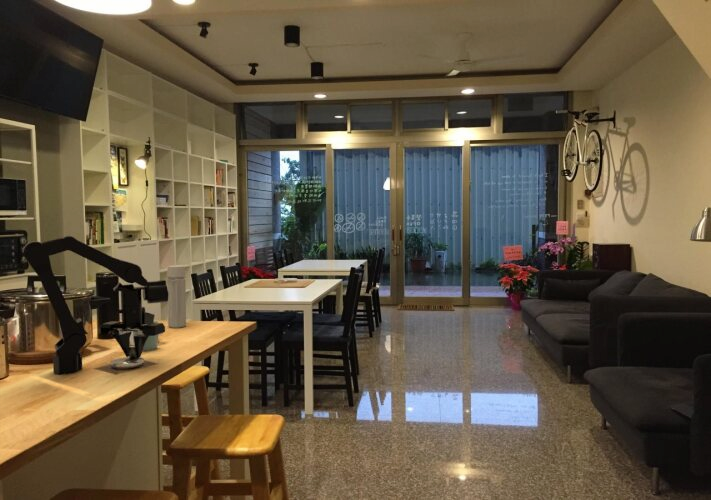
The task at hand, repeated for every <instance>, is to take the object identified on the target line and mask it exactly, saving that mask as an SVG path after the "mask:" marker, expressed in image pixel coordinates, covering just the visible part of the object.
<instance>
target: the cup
mask: <svg viewBox="0 0 711 500" xmlns="http://www.w3.org/2000/svg"><path fill="white" fill-rule="evenodd" d="M153 323H159V322H158V321H157V320H155V321H154V322H153ZM145 325H147V324H145ZM136 329H138V328H136ZM136 335H138V332H134V331H133V342H134V336H136ZM158 345H159V336H158V335H155V336H149V337H148V338H147V340H146V342H145V345H144V348H143V351H142V352H149V351H155V350H156V349H157V348H158ZM134 346H135V343H134Z"/></svg>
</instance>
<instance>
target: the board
mask: <svg viewBox="0 0 711 500" xmlns="http://www.w3.org/2000/svg"><path fill="white" fill-rule="evenodd" d="M156 365H159V363H158V362H152V361H149V360H145V359H144V364H143V365H141V366H139V367H134V368H127V369H117V368H112V367H111V364H106V365H103V366H98V367H94V368H93V370H97V371H101V372H105V373H109V374H111V375H120V374H123V373H127V372H132V371H135V370H136V371H137V370H140V369H144V368H149V367H151V366H152V367H153V366H156Z"/></svg>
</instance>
